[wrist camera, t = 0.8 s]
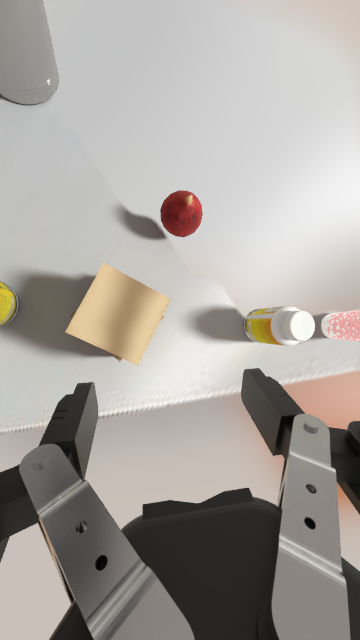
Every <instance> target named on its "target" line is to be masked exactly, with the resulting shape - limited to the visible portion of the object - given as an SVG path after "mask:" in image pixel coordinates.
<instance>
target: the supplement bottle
mask: <svg viewBox="0 0 360 640" xmlns="http://www.w3.org/2000/svg"><path fill="white" fill-rule="evenodd" d="M314 329H315V323H314V319H313V317H312V316H311V315H310V314H309V313H308V312H306V311H300V310H299V309H297V308H295V307H292V306H283V307H273V308H265V309H257V310H254V311H252V312H250V313H249V314H248V315H247V317H246V318H245V321H244V330H245V333H246V335H247V336H248V338H249V339H251V340H252V341H254V342H259V343H268V344H277V345H286V346H291V345H295V344H297V343H299V342H300V341H306V340H308V339H309V338H310V337H311V336H312V335H313V333H314Z"/></svg>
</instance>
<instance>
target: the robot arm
mask: <svg viewBox="0 0 360 640" xmlns="http://www.w3.org/2000/svg"><path fill="white" fill-rule="evenodd" d="M58 83H59V75H58V70H57V65H56V60H55V56H54V51H53V46H52V41H51V36H50V31H49V27H48V22H47V17H46V13H45V8H44V3H43V0H0V95H1V96H3V97H5V98H7V99H9V100H11V101H14V102H17V103H20V104H27V105H29V104H38V103H42V102H44V101H46V100H48V99H49V98H50V97H51V96H53V94H54V93H55V91H56V90H57V87H58ZM241 397H242V401H243V404H244V405H245V407H246V409H247V411H248V412H249V414H250V416H251V418H252V420H253V421H254V423H255V425H256V427H257V428H258V430H259V432H260V433H261V435H262V437H263V438H264V441H265V442H266V444H267V446H268V448H269V449H270V451H271V453H272V455H273V456H275V455H283V457H284V458H285V459H284V463H283V469H282V476H281V482H280V489H279V495H278V501H277V506H276V505H274V504H272V503H270V502H268V501H266V500H263V499H259V498H256V497H252V494H251V492H250V489H249V488H243V489H237V490H231V491H224V492H222V493H220V494H218V495H216V496H214V497H212V498H210V499H208V500H206V501H204V502H202V503H189V502H180V501H172V500H168V501H162V502H156V503H150V504H143V515H141V516H139V517H137V518H135V519H134V520H132V521H131V522H129V523H128V524H127V525H126V526H125V527H124V528H123V529H122V530H120V528H119V527H118V525H117V524H116V522H115V521H114V519H113V518H112V516H111V515H110V514H109V512H108V510H107V509H106V508H105V506H104V504H103V503H102V502H101V500H100V499H99V497H98V496H97V494H96V493H95V491H94V490H93V488H92V487H91V485H90V484H89V483H88V481H86V480H84V479H85V474H86V469H87V465H88V460H89V455H90V451H91V446H92V442H93V437H94V433H95V428H96V423H97V419H98V404H97V398H96V391H95V385H94V383H93V382H89V383H78V384H77V386H76V388H75V391H74V393H73V394H70V395H66V396H64V397H63V398H62V399H61V400H60V401H59V402H58V404H57V407H56V409H55V412H54V413H53V415H52V418H51V420H50V422H49V424H48V426H47V429H46V431H45V433H44V435H43V437H42V440H41V442H40V444H39V446H38V447H37V448H35V449H33V450H32V451H30V452H29V453H28V454H27V455H26V456H25V457H24V458H23V460H22V461H21V463H20V464H19V465H18V466H15V467H13V468H11V469H8V470H5V471H3V472H0V562H1V559H2V556H3V553H4V551H5V548H6V545H7V542H8V540H9V537H10V536H11V535H13V534H15V533H17V532H19V531H22V530H23V529H26V528H28V527H30V526H32V525H34V524H36V523H38V525H39V527H40V530H41V532H42V534H43V537H44V539H45V541H46V544H47V546H48V548H49V551H50V553H51V556H52V558H53V561H54V563H55V565H56V568H57V570H58V573H59V576H60V578H61V581H62V583H63V586H64V588H65V591H66V593H67V596H68V598H69V600H70V603H71V606H70V608H69V609H68V611H67V612H66V614H65V615H64V617H63V619H62V620H61V622H60V623H59V625H58V627H57V628H56V630H55V631H54V633H53V634H52V636H51V637H50V639H49V640H360V571H358V570H357V569H356V568H355V567H353V566H352V565H351V564H350V563H349V562H347V561H346V560H345V559H343V558H342V557H341V548H340V532H339V514H338V498H337V483H338V484H339V485H340V487H341V488H342V490H343V491H344V492H345V494H346V495H347V497H348V498H349V500H350V501H351V503H352V504H353V506H354V507H355V508H356V510H357V511H358V513H359V514H360V421H353V422H351V423H350V424H349V425H348V428H347V430H344V429H337V428H330V427H328V426H327V425H326V424H325V423H324V422H323V421H322V420H320V419H319V418H317V417H315V416H312V415H309V414H305V413H304V412H303V411H302V410H301V408H300V407H299V406H298V405H297V404H296V402H295V401H294V400H293V399H292V398H291V397H290V396H289V395H288V393H287V392H286V391H285V390H284V389H283V387H282V386H281V385H280V384H279V383H278V382H277V381H276V380H274V379H272V378H271V377H266V376H265V375H264V373H263V372H262V371H261V370H260V369H259V368H256V369H245V370H244V373H243V382H242V390H241Z"/></svg>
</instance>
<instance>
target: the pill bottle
mask: <svg viewBox="0 0 360 640" xmlns="http://www.w3.org/2000/svg"><path fill="white" fill-rule="evenodd" d="M18 305H19V303H18V298H17V295H16V294H15V292H14V291H13V290H12V289H11V288H10V287H9V286H8V285H6V284H5V283H3V282H0V327H2V326H4V325H6V324H8V323H9V322H10V321H11V320H12V319H13V318H14V317H15V315H16V313H17V311H18Z"/></svg>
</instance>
